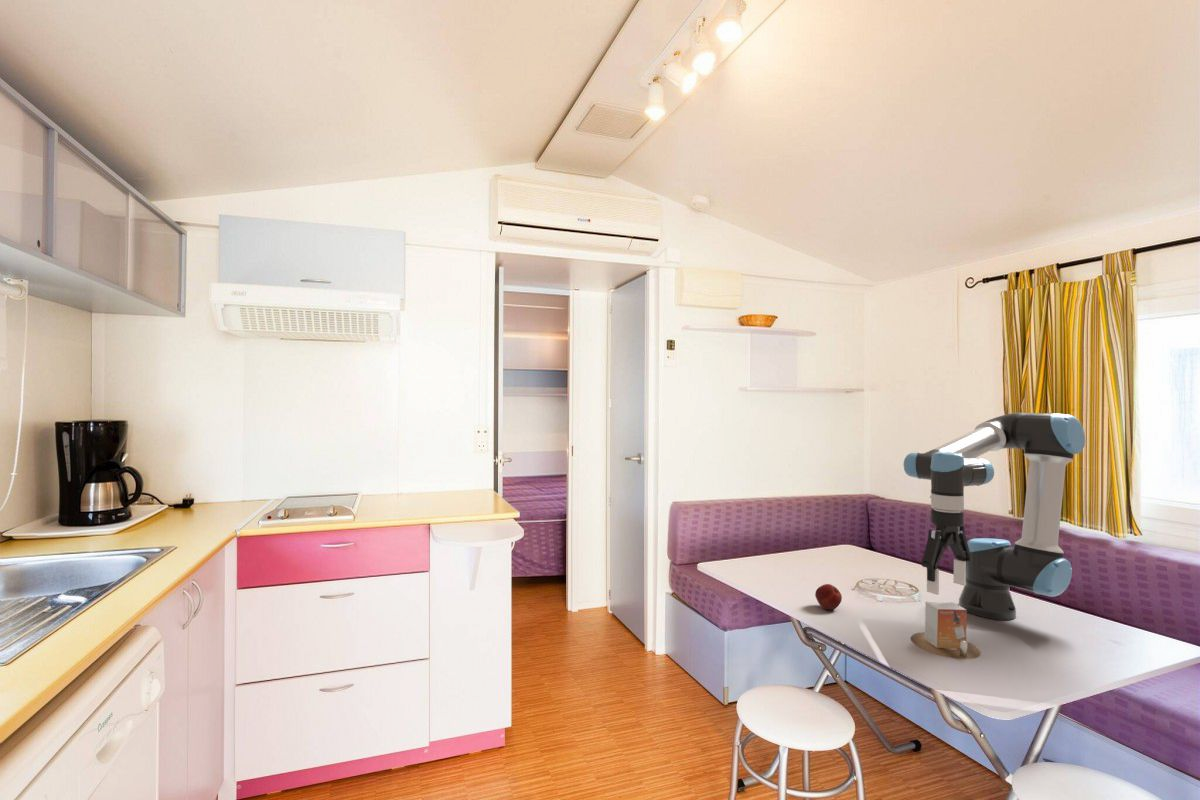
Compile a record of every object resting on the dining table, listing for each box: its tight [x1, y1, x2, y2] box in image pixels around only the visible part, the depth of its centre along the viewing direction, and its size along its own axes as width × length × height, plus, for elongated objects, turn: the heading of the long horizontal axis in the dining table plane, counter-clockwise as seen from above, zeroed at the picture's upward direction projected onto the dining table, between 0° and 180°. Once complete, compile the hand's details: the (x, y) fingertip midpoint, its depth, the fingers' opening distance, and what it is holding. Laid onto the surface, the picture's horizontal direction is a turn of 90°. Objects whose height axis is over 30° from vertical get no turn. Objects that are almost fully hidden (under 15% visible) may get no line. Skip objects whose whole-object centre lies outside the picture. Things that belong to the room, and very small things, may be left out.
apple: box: [814, 583, 843, 611], centre depth 176 cm, size 7×8×8 cm
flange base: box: [910, 631, 982, 660], centre depth 148 cm, size 16×16×2 cm
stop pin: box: [960, 639, 968, 658], centre depth 141 cm, size 2×2×4 cm
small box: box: [924, 601, 968, 649], centre depth 148 cm, size 8×6×10 cm
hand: (946, 588), depth 148 cm, fingers open, 13 cm apart
